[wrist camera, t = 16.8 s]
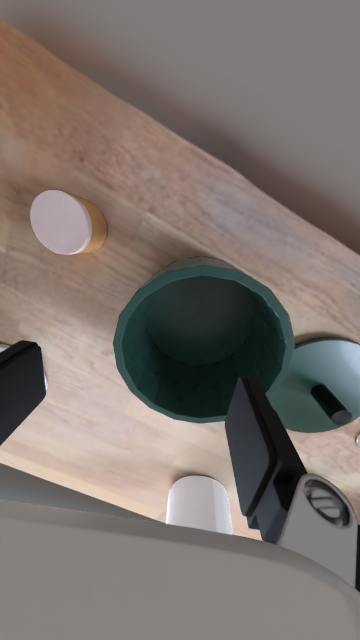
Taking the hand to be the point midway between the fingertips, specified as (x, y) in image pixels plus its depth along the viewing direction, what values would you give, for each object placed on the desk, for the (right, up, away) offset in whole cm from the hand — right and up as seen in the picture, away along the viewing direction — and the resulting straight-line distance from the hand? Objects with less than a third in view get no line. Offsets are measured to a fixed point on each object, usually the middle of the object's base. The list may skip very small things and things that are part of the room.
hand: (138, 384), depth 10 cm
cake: (-10, +15, +16) cm, 24 cm away
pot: (+5, +3, +19) cm, 20 cm away
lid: (+23, -8, +22) cm, 33 cm away
